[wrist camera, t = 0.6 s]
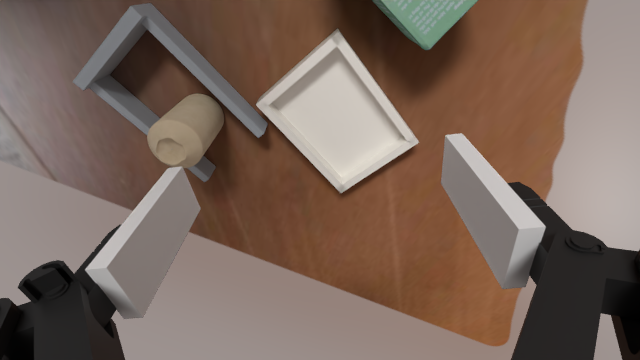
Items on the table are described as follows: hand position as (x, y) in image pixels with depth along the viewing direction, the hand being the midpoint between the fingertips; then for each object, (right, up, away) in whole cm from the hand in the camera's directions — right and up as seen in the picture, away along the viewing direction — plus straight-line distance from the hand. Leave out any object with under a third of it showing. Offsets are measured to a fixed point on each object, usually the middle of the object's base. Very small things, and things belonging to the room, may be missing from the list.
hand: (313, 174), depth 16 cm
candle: (-14, +8, +23) cm, 28 cm away
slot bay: (-16, +9, +22) cm, 29 cm away
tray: (+3, +8, +23) cm, 24 cm away
